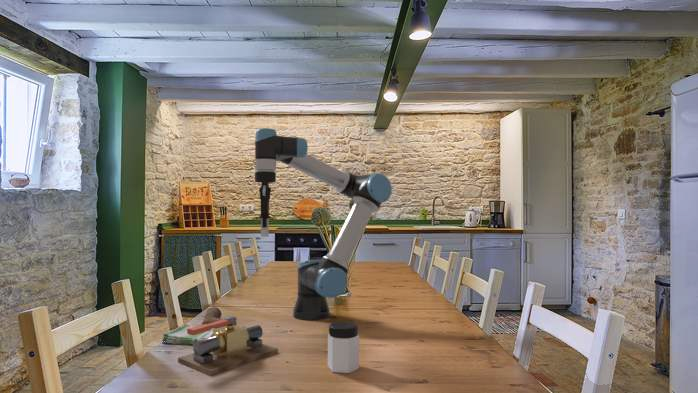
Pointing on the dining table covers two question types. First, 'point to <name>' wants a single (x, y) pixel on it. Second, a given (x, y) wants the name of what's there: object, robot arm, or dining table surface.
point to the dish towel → (185, 336)
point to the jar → (343, 347)
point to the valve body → (227, 342)
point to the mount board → (228, 360)
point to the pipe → (213, 316)
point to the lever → (211, 325)
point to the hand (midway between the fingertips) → (264, 236)
